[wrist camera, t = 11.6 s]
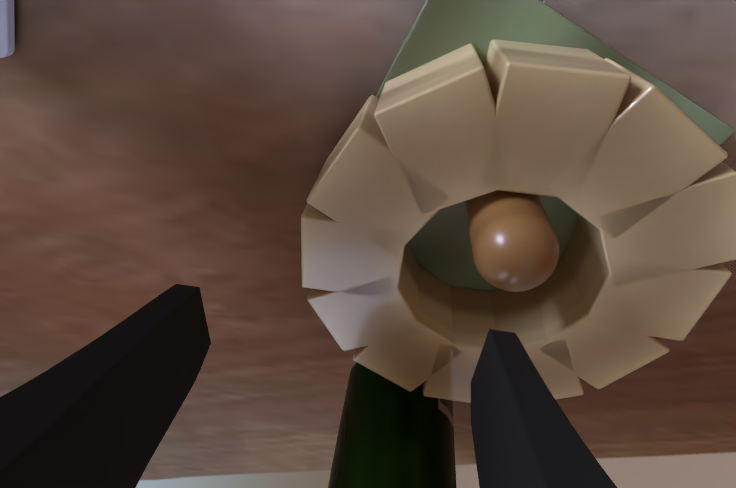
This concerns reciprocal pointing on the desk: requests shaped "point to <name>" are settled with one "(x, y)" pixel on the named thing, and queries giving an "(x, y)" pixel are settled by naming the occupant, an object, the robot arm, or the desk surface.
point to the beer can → (392, 436)
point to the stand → (499, 208)
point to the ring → (529, 176)
